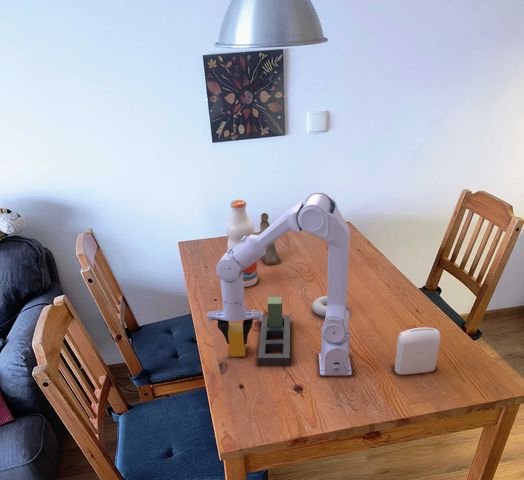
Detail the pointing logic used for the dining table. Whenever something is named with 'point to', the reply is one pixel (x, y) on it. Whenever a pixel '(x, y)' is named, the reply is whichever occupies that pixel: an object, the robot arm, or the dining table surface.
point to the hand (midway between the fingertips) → (237, 342)
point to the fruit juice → (241, 236)
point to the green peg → (275, 312)
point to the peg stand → (274, 343)
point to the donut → (320, 306)
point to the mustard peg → (236, 340)
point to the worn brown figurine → (271, 252)
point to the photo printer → (417, 350)
